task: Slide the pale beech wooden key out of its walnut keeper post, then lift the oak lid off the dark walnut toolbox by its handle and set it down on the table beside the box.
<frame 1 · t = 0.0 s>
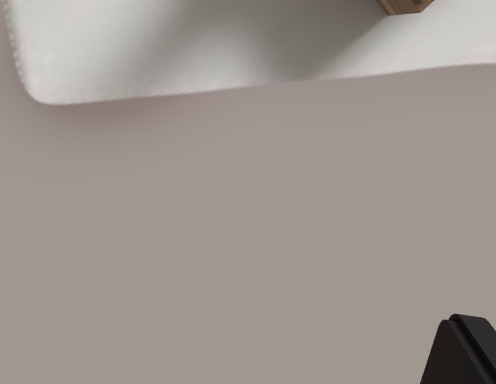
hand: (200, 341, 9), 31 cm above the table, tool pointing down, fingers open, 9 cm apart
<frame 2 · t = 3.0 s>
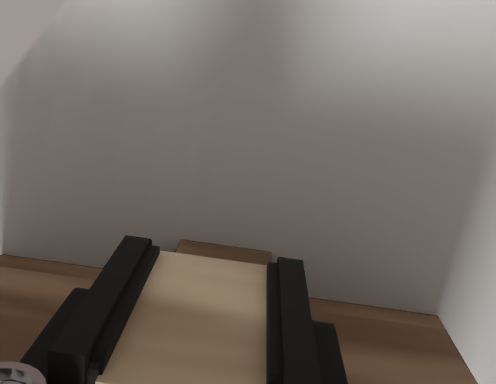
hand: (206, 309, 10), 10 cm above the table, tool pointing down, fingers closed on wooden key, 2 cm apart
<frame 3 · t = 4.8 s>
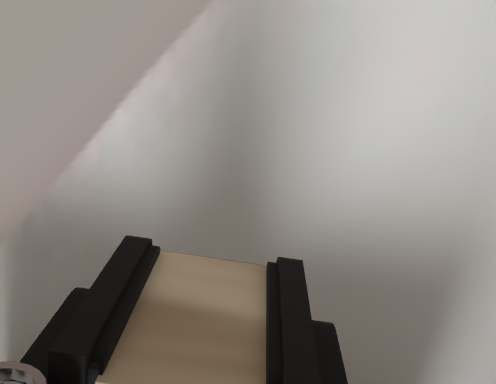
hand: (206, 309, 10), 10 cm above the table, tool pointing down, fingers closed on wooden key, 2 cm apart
when the fingers open (4 cm above the table, at t = 18.3 s): lid drops 1 cm, on the table.
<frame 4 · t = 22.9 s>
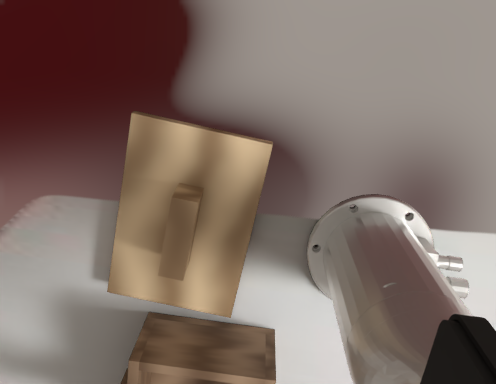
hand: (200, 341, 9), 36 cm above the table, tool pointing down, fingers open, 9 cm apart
lid: (188, 214, 48), on the table
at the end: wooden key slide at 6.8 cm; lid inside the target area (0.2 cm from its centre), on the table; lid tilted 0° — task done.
